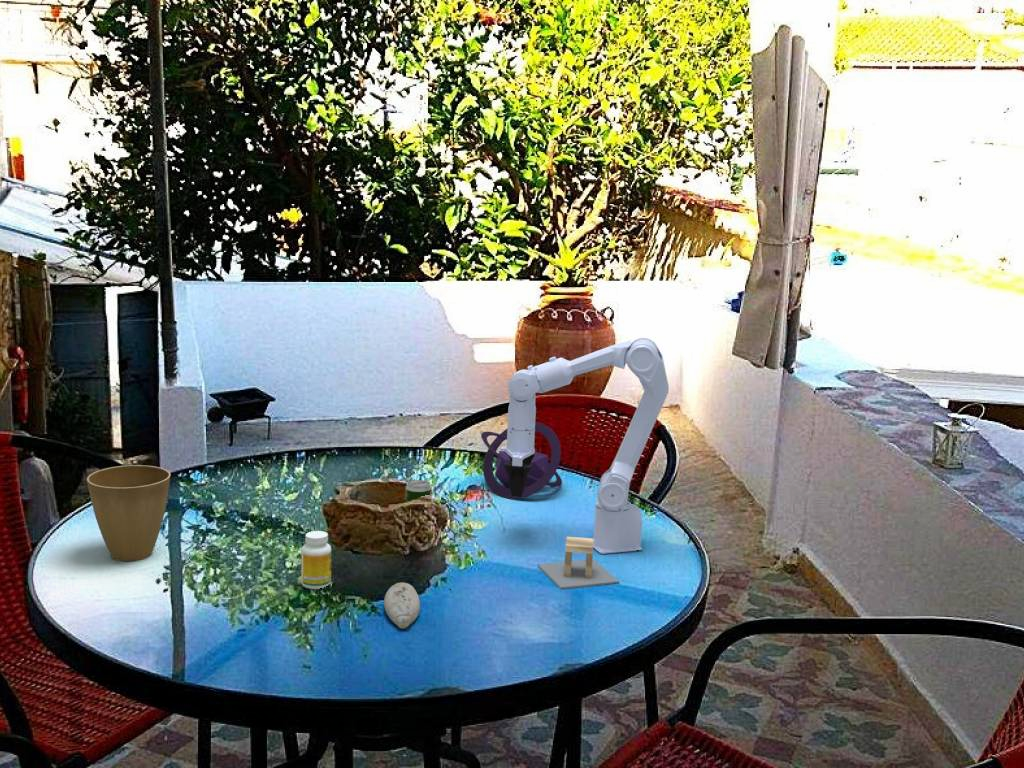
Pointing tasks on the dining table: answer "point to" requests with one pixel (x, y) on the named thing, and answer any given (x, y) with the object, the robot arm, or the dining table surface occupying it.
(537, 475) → the decorative bottle
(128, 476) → the plant pot
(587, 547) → the wooden u-frame
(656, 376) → the robot arm
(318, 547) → the supplement bottle
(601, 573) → the slate mat
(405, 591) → the decorative stone
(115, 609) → the dining table surface
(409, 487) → the beer can
